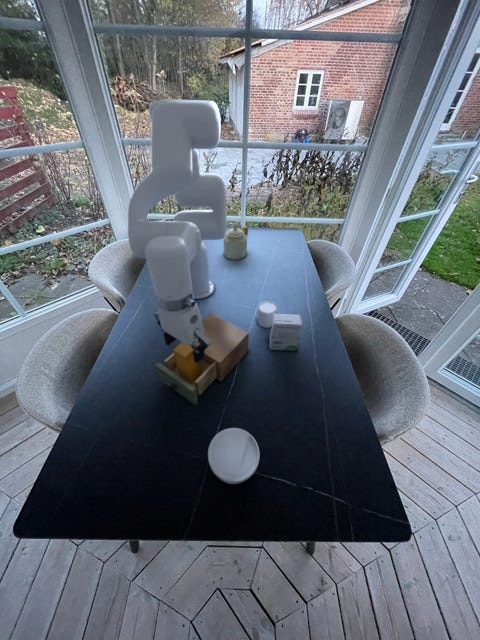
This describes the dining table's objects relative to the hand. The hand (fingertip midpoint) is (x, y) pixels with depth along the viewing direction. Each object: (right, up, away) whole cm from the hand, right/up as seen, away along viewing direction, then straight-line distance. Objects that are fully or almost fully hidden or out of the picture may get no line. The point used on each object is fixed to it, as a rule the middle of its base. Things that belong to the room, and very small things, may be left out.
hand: (185, 350), depth 67 cm
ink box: (+28, -1, +20) cm, 34 cm away
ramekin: (+12, -25, -6) cm, 29 cm away
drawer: (0, -9, +9) cm, 13 cm away
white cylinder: (+23, +7, +28) cm, 37 cm away
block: (0, -8, +8) cm, 12 cm away
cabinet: (+6, -3, +16) cm, 18 cm away
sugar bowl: (+12, +41, +64) cm, 77 cm away
